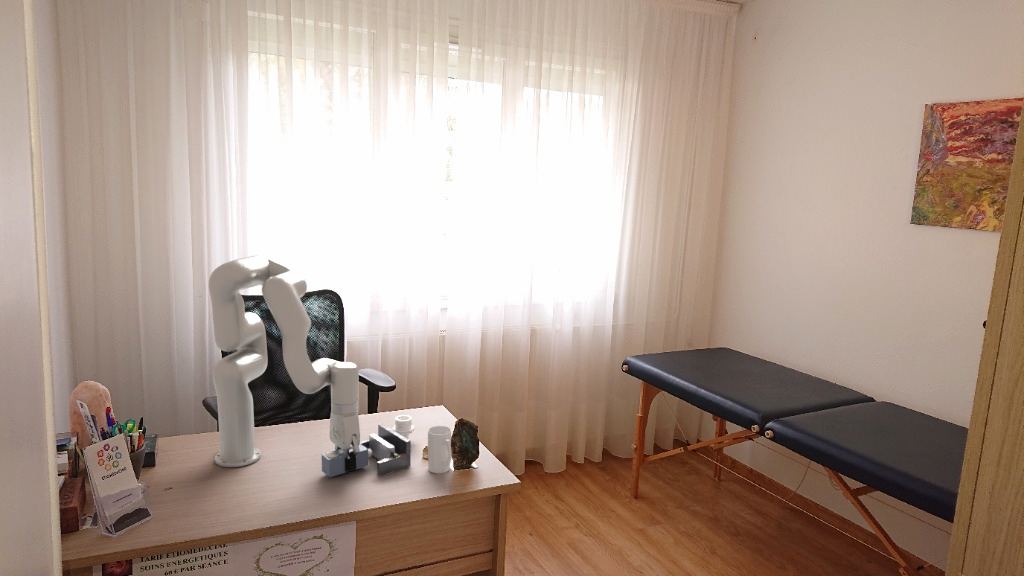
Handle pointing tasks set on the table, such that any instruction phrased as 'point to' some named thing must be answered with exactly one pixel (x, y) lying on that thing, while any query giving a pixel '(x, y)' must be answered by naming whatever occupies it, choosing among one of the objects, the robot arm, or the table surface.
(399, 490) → the table surface
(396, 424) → the pipe fitting
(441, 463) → the mug
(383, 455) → the anvil plate
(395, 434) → the gauge frame
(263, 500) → the table surface
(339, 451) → the block
